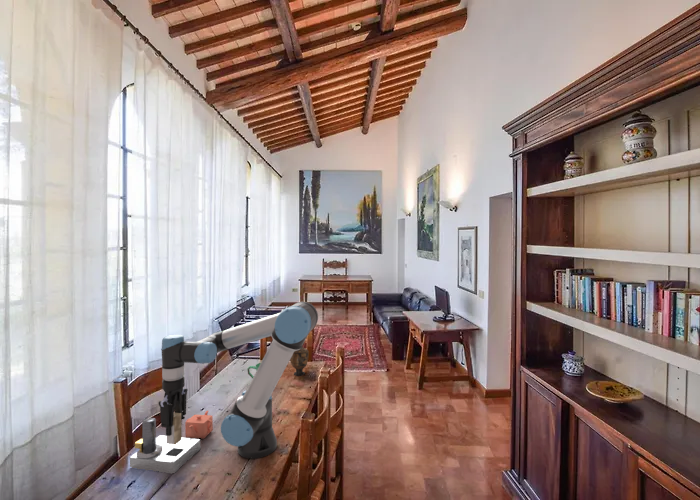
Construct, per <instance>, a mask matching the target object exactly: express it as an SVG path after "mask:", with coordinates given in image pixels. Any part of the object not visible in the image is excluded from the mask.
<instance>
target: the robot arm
mask: <svg viewBox="0 0 700 500" xmlns="http://www.w3.org/2000/svg"><path fill="white" fill-rule="evenodd" d="M318 320H319V313H318V310H317V308H316V307H315V306H314V305H313V304H312V303H310V302H307V301H298V302H295V303H294V304H293V305H290V306H288V307H286V308H282V309H281V311H280V312H278V313H275V314H272V315H268V316H266V317H262V318H260V319H256V320H253V321H250V322H247V323H244V324H243V323H242V324H241V325H237V326H235V327H230V328H228V329H225V330H220V331H216V332H213V333H212V334H209V335H208V336H206V337H204V338H202V339H199V340H198V341H186V340H185V337H184V335H182V334H170V335H167V336H164V337H162V339H161V348H160V350H161V363H162V364H161V370H162V372H161V373H162V374H161V376H162V377H161V378H162V380H161V389H162V391H163V392H164V394H163V395H164V396H163V399H162V400H159V401H158V406H159V409H160V411H159V412H160V427H162V428H165V436H167V443H170V444H174V443H175V440H174V425H173V416H174V413H181V436H182V437H183V430H182V429H183V420H185V418H186V415H187V394H188V391H189V390H188V388H184V387H185V386H186V385H185V374H186V373H185V371H186V370H185V363H187V364H188V363H189V364H201V365H202V364H203V365H204V364H211V363H213V362H214V361H215V359H216V357H217V354H218V353H220V352H223V351H227V350H229V349H233V348H236V347H239V346H242V345H245V344H249V343H252V342H255V341H259V340H262V339H265V338H269V337H271V338H272V341H271V342H270V345H269V346H268V349H267V351H266V353H265V354H264V356H263V358H262V360H261V362H260V363H261V364H260V366H259V368H258V370H257V371H255V373H254V375H253V376H254V377H253V378H251V381H250V383H249V385H248V387H247V389H245V390H244V391H242V393H241V395H240V396H238V398H237V399H236V401H235V403H234V405H233V406H232V408H231V410H230V412H229V413H228V415H226V416H225V417H224V419H223V420H222V422H221V425H220V433H221V435H222V438H223V439H224V441H226V443H227V444H229V445H231V446H233V447H237V453H238V455H239V456H241V457H243V458H244V459H245V458H246V459H261V458H264V457H266V456H269V455H271V454H272V453H273V452H274V451H276V449H277V447H278V445H277V444H278V441H277V436H276V433H275V431H274V428H273V397H272V394H273V392H274V391H275V388H277V387H276V386H277V385H278V382H280V381H279V380H280V379H281V377H282V375H283V374H284V372H285V369H286V368H287V366H288V364H289V362H290V359H291V357H292V355H293V353H294V351H297V350H300V349H301V347H303V345H304V343H305V342H306V340H307V338H308V336H309V334H310V333H311V331H312V330H313V329H314V328H315V327H316V326H317V323H318V322H319V321H318Z"/></svg>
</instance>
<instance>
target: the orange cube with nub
mask: <svg viewBox="0 0 700 500" xmlns="http://www.w3.org/2000/svg"><path fill="white" fill-rule="evenodd" d="M213 421H214V420H213V415H210V414H209V410H207V411H205V413H204V414H194V415H192V416H191V417H189V418H187V419H186V420H185V422H184V424H185V425H184V427H185V428H184V429H185V433H184V435H185V438H192V439H199V438H201V439H202V440H203V439H205V438H207V436H209V434H210V433H211V432H213V430H214V429H213V423H214V422H213ZM201 439H200V440H201Z"/></svg>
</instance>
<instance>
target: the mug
mask: <svg viewBox="0 0 700 500" xmlns="http://www.w3.org/2000/svg"><path fill="white" fill-rule="evenodd" d="M260 364H261V362H259V363H256V364H255V365H249V366H248V367H247V369H246V370H247V375H249V376H250V378H251V379H253V377H254V375H253V374H252V373H251V372H250V370H251V369H253V370H256V371H257V370H258V368H259V366H260ZM256 371H255V372H256Z"/></svg>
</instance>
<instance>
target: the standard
mask: <svg viewBox="0 0 700 500" xmlns="http://www.w3.org/2000/svg"><path fill="white" fill-rule="evenodd" d="M141 425H142V438H140V439H138V440H137V441H135V443H134V448H135V449H137V450H138V451H136V452H137V458H139V459H149V458H153V457H155V456H157V455H159V454H160V453H161V452H162V446H161V445H157V444H156V438H157V418H155V417H149V418H145V419H144V420H142V424H141Z"/></svg>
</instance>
